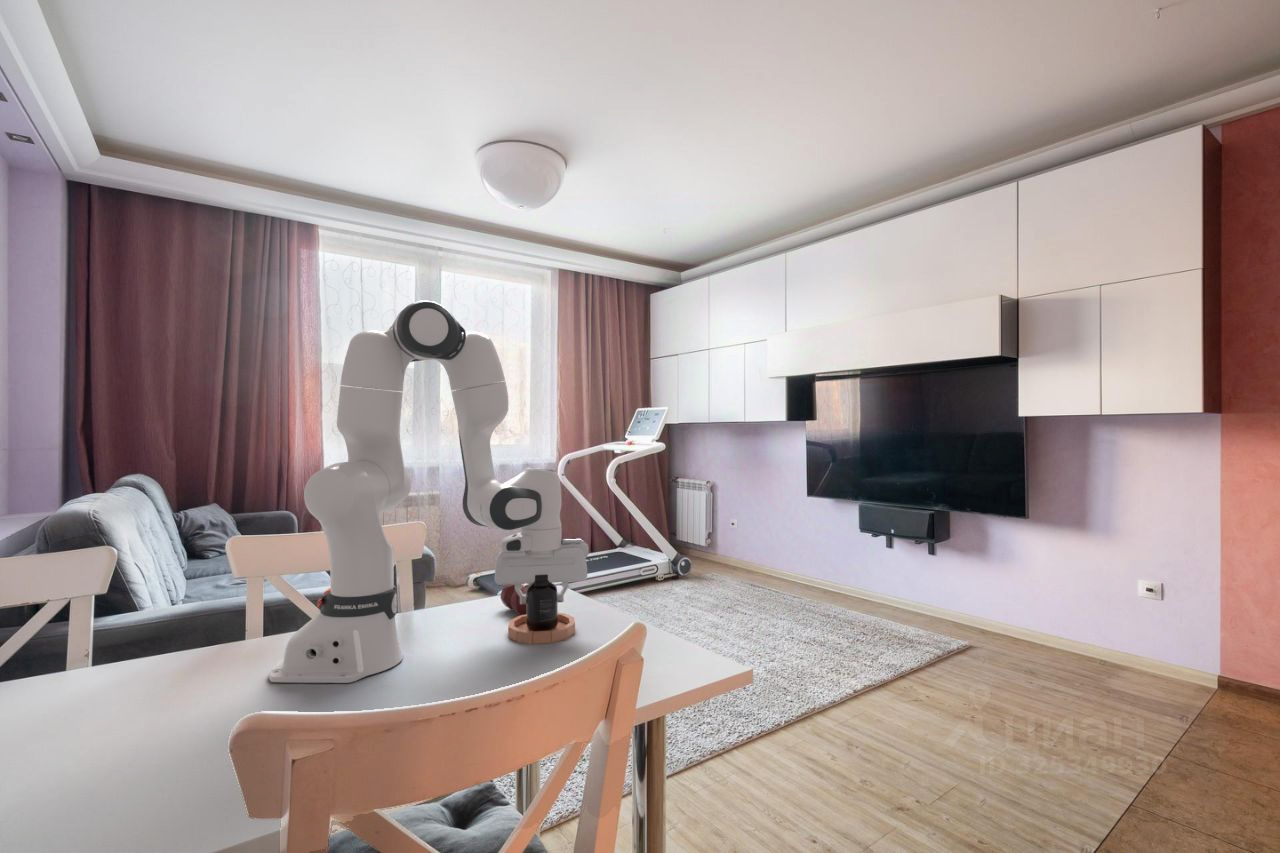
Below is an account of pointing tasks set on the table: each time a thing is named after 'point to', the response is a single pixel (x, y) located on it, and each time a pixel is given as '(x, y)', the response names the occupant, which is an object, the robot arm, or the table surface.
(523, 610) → the heart
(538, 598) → the supplement bottle
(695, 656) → the table surface
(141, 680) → the table surface
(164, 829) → the table surface
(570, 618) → the tray
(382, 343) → the robot arm
